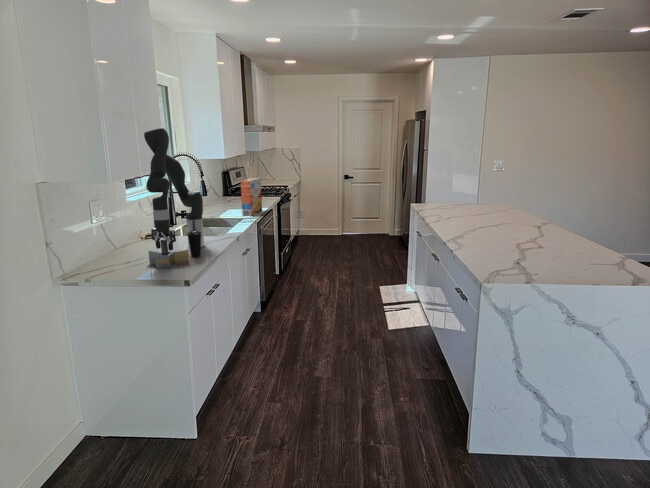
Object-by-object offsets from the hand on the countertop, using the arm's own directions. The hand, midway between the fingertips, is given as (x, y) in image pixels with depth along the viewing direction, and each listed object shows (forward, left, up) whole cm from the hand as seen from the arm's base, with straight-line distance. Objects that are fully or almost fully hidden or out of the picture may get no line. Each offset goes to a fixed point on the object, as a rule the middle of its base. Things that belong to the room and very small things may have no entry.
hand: (164, 249), depth 217 cm
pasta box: (-151, +3, -9) cm, 151 cm away
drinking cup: (-19, +8, -9) cm, 23 cm away
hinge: (-2, -1, -9) cm, 9 cm away
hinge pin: (0, 0, -9) cm, 9 cm away
